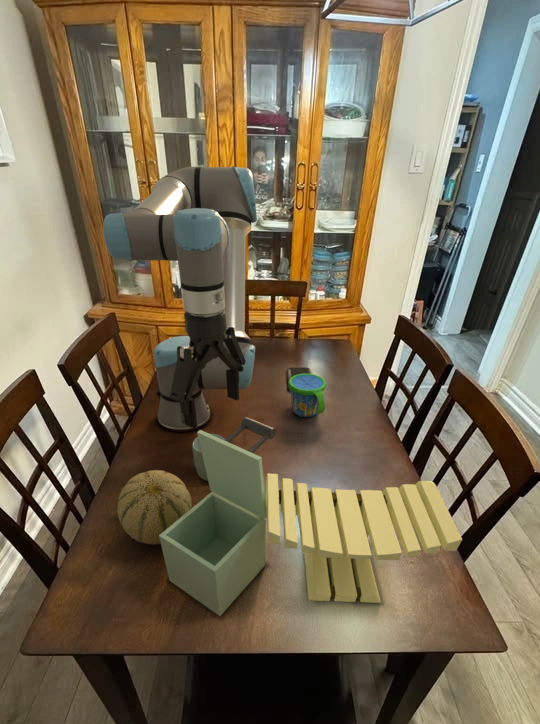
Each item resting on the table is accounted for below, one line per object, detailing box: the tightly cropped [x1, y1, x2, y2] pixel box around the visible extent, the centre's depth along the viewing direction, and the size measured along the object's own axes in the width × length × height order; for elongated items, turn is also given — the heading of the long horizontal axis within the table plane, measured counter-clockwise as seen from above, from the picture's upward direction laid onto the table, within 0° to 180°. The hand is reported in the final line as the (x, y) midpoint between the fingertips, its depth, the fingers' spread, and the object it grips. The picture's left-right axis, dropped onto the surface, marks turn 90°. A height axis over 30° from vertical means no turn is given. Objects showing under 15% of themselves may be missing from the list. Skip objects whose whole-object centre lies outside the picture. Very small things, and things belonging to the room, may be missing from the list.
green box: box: [159, 491, 267, 617], centre depth 76 cm, size 14×13×13 cm
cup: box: [191, 433, 226, 482], centre depth 99 cm, size 8×8×10 cm
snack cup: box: [288, 373, 327, 418], centre depth 122 cm, size 16×10×10 cm
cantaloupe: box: [116, 469, 193, 545], centre depth 83 cm, size 15×15×15 cm
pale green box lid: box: [196, 416, 277, 520], centre depth 73 cm, size 14×13×9 cm
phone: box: [287, 366, 311, 390], centre depth 140 cm, size 8×1×15 cm
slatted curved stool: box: [265, 473, 463, 604], centre depth 75 cm, size 30×16×18 cm, turn 90°
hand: (213, 411), depth 88 cm, fingers open, 13 cm apart
